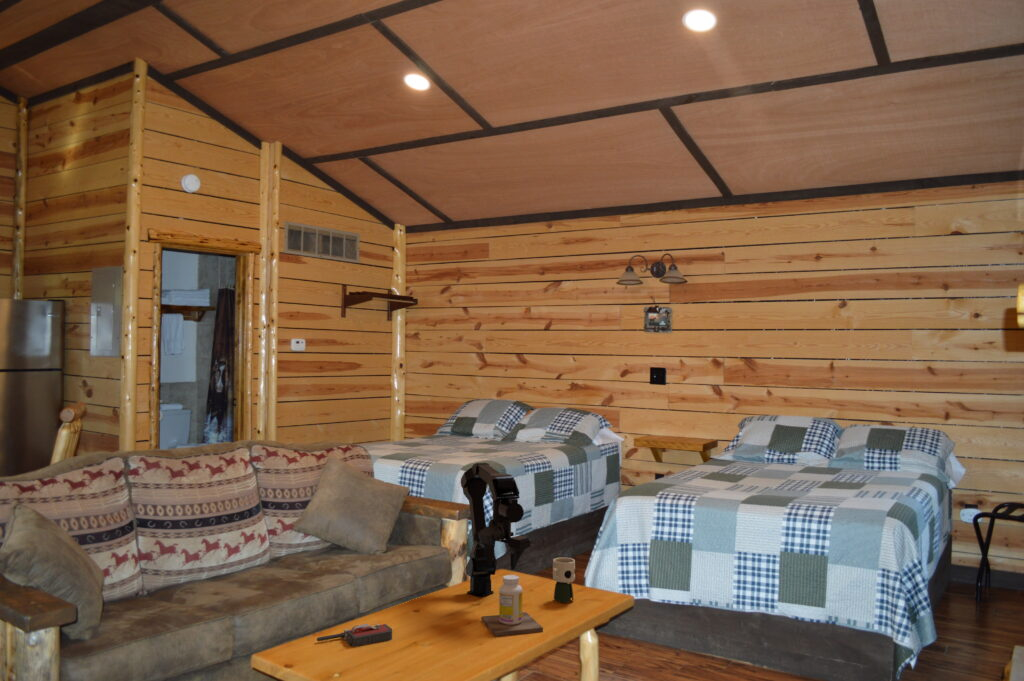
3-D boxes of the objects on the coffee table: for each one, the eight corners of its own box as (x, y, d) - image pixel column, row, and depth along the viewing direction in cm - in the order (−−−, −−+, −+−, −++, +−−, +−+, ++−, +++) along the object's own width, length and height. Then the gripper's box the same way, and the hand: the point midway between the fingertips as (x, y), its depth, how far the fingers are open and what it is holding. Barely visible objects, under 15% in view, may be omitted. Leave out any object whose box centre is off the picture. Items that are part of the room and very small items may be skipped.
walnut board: (481, 620, 234) (481, 616, 234) (526, 616, 238) (526, 612, 238) (495, 636, 221) (495, 632, 221) (542, 631, 225) (542, 627, 225)
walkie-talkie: (385, 630, 226) (315, 643, 215) (385, 615, 226) (315, 626, 215) (397, 640, 218) (325, 654, 208) (397, 624, 218) (326, 636, 208)
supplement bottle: (516, 616, 234) (517, 572, 234) (525, 624, 228) (526, 578, 228) (495, 619, 231) (496, 575, 231) (504, 626, 225) (504, 581, 225)
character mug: (562, 607, 247) (562, 565, 247) (544, 602, 252) (544, 561, 252) (582, 599, 255) (583, 558, 255) (564, 594, 260) (565, 554, 260)
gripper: (461, 515, 244) (461, 566, 244) (507, 524, 232) (507, 578, 232) (486, 510, 253) (485, 559, 253) (531, 518, 241) (531, 570, 241)
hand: (501, 567), depth 244 cm, fingers open, 9 cm apart
